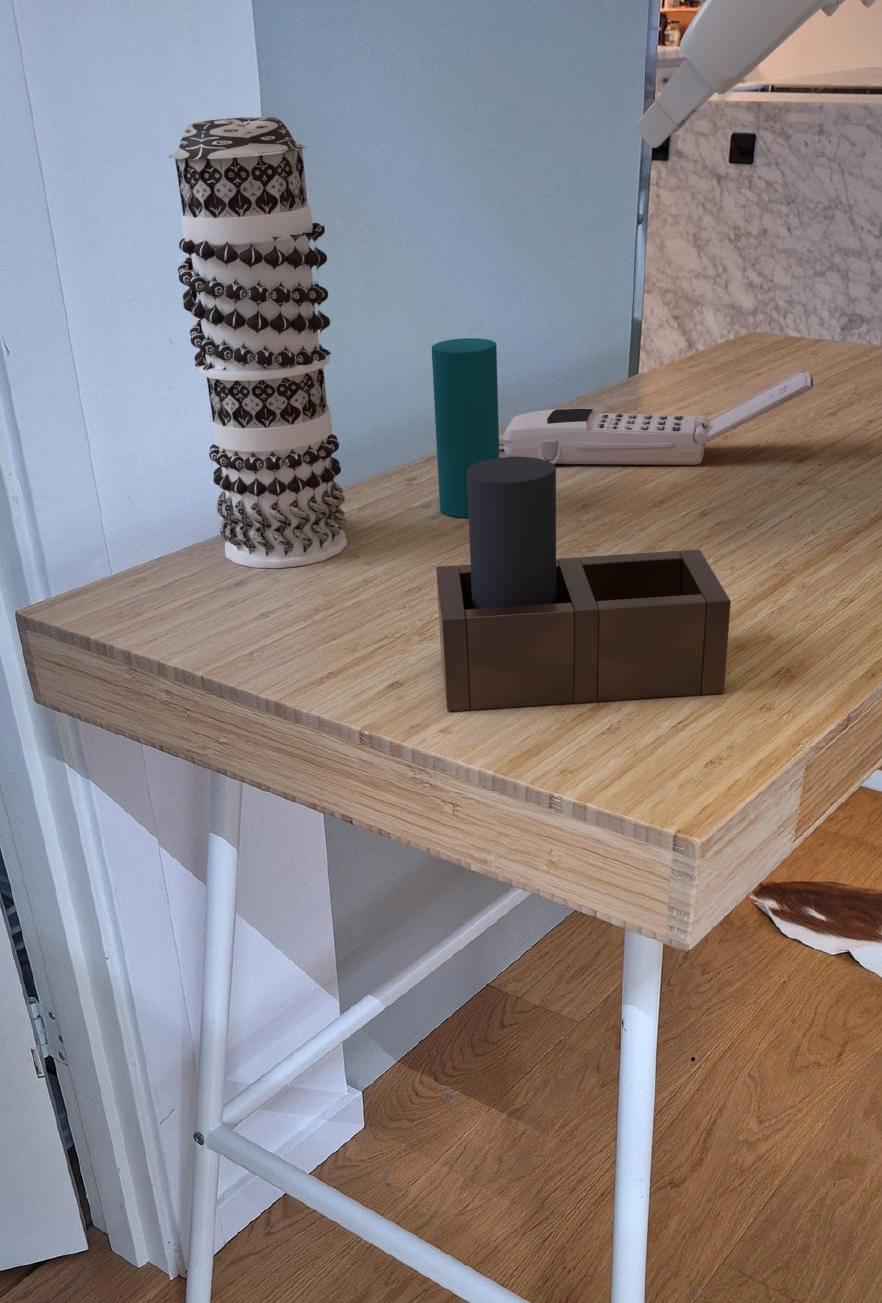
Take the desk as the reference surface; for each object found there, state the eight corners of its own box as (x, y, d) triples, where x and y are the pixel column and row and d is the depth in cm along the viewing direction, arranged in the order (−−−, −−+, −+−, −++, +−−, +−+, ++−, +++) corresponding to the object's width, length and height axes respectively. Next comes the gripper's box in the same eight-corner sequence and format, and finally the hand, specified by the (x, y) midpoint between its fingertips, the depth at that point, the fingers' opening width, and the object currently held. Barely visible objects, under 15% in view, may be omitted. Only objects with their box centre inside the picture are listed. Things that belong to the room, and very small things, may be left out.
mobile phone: (814, 385, 98) (475, 386, 102) (805, 469, 101) (477, 466, 106) (812, 367, 102) (488, 369, 107) (803, 448, 106) (490, 446, 110)
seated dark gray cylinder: (551, 657, 75) (550, 453, 68) (560, 690, 71) (560, 478, 65) (472, 662, 75) (464, 459, 68) (477, 696, 71) (469, 484, 65)
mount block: (694, 636, 76) (700, 548, 73) (724, 693, 70) (731, 600, 67) (440, 652, 76) (436, 566, 73) (447, 712, 70) (442, 619, 67)
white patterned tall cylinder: (371, 555, 90) (334, 117, 76) (236, 579, 88) (171, 131, 73) (332, 518, 97) (292, 110, 83) (206, 538, 95) (142, 123, 80)
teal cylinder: (498, 497, 99) (494, 336, 93) (503, 515, 96) (498, 349, 89) (438, 501, 99) (430, 340, 93) (441, 519, 96) (432, 353, 89)
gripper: (809, -122, 81) (641, 79, 89) (796, -147, 65) (592, 101, 73) (877, -35, 83) (706, 155, 91) (880, -39, 67) (671, 192, 75)
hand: (655, 131), depth 82 cm, fingers open, 8 cm apart
